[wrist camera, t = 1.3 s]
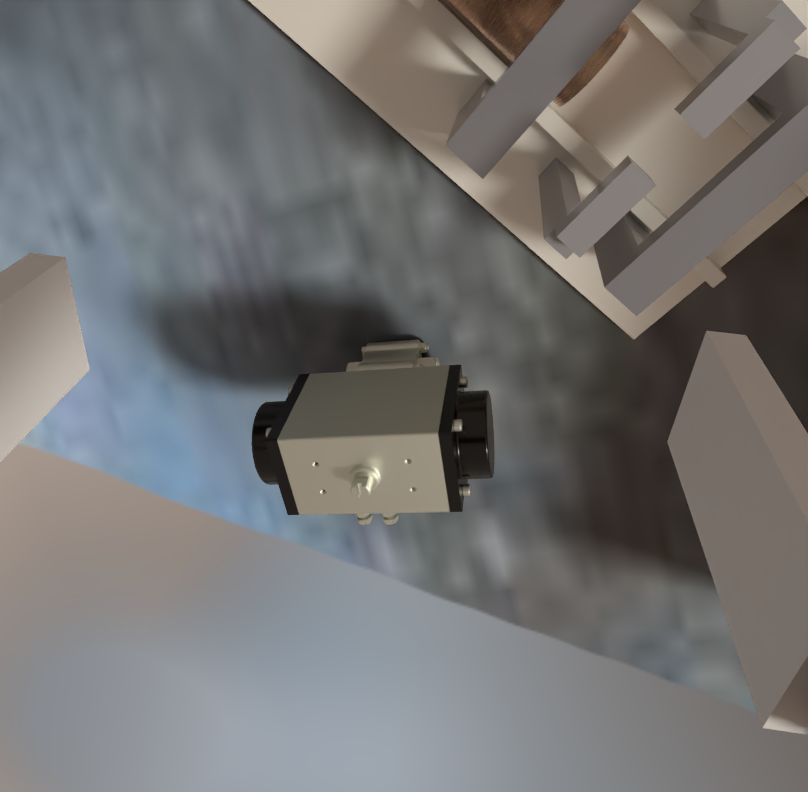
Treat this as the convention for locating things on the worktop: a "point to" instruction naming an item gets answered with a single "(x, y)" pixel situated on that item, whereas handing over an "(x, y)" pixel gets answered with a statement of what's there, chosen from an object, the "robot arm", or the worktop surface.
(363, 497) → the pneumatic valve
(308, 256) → the worktop surface
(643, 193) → the board
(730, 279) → the worktop surface
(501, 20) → the tube
